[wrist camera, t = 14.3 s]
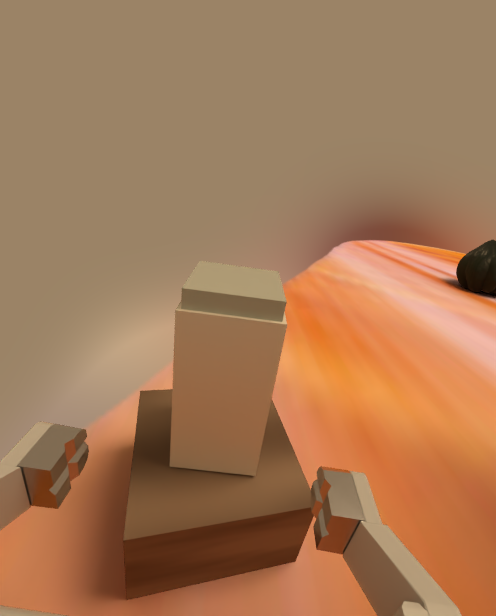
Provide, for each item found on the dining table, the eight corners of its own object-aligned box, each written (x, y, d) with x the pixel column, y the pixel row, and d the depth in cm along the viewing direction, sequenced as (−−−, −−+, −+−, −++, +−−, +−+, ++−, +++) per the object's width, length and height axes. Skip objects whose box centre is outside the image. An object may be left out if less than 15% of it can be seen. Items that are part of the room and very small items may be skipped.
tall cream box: (187, 405, 22) (197, 259, 17) (255, 413, 22) (281, 271, 17) (169, 466, 17) (176, 288, 13) (255, 476, 17) (291, 304, 13)
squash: (534, 289, 73) (538, 238, 77) (465, 276, 78) (472, 229, 82) (501, 309, 86) (506, 264, 90) (443, 297, 91) (451, 255, 95)
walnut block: (140, 446, 25) (140, 390, 22) (254, 435, 28) (265, 384, 25) (126, 602, 16) (123, 540, 14) (294, 563, 19) (317, 506, 16)
